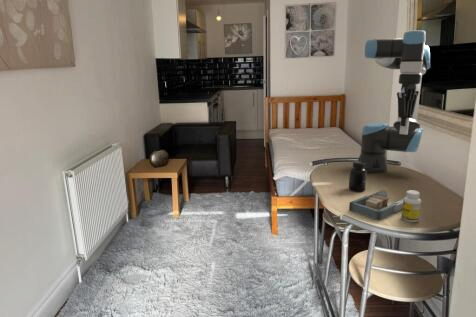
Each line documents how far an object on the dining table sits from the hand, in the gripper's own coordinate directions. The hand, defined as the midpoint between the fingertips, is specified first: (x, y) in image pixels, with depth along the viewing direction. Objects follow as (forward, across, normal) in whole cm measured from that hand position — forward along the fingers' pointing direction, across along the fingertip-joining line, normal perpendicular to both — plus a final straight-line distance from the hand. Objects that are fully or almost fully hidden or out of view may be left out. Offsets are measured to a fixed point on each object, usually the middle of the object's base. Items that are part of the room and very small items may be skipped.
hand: (403, 133), depth 144 cm
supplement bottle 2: (+24, +24, +17) cm, 38 cm away
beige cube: (+24, +27, +5) cm, 36 cm away
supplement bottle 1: (+24, +11, -12) cm, 29 cm away
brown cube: (+24, +23, +5) cm, 34 cm away
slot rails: (+24, +17, +5) cm, 30 cm away
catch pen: (+24, +28, +5) cm, 37 cm away
